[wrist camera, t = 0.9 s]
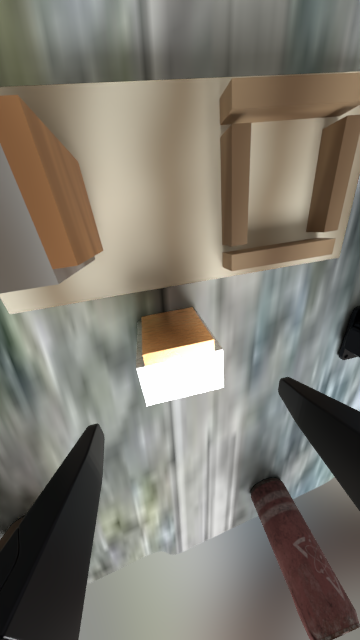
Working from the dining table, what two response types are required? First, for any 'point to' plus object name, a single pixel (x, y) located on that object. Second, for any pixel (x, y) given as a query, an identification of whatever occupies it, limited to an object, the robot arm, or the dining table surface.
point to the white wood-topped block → (177, 356)
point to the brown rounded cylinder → (303, 564)
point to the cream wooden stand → (171, 182)
